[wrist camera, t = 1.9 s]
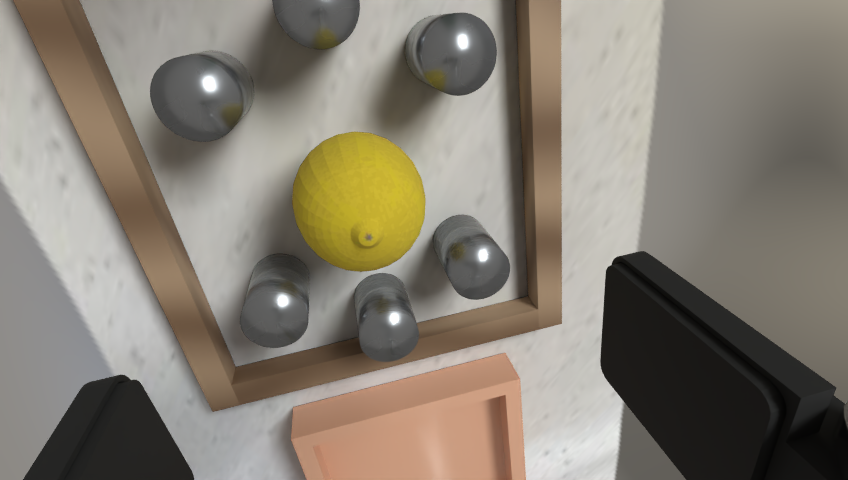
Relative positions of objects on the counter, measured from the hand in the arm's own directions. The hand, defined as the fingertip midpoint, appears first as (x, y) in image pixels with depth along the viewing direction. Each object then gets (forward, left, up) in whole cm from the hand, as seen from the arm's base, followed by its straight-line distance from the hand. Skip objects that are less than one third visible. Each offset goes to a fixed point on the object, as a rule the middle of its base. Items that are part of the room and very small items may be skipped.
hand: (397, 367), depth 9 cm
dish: (-16, +14, -15) cm, 26 cm away
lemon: (0, 0, -16) cm, 16 cm away
